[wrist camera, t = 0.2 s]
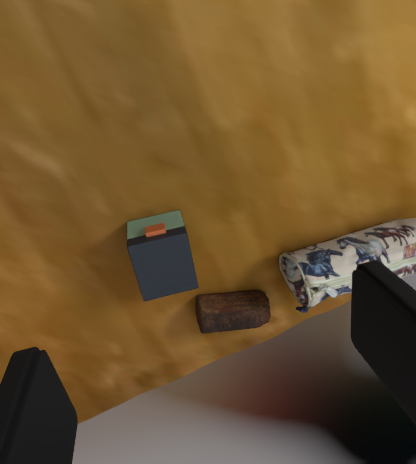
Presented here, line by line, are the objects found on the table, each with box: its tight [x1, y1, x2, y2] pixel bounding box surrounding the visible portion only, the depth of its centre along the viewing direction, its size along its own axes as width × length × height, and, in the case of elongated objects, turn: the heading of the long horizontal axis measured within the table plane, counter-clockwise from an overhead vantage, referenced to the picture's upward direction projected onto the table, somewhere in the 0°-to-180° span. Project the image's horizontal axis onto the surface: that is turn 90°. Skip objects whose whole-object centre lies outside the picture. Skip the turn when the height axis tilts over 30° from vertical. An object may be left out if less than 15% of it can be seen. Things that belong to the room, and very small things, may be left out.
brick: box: [196, 291, 271, 333], centre depth 55 cm, size 11×4×5 cm, turn 88°
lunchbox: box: [127, 210, 198, 301], centre depth 47 cm, size 9×7×7 cm
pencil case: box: [279, 218, 416, 313], centre depth 52 cm, size 22×8×10 cm, turn 101°
